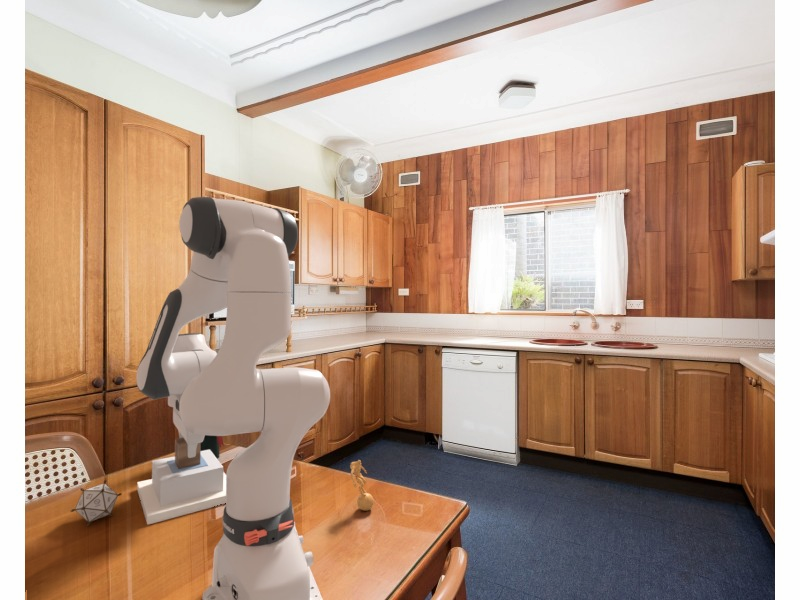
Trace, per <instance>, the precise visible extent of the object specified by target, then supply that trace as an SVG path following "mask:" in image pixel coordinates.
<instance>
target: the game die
mask: <svg viewBox="0 0 800 600" xmlns="http://www.w3.org/2000/svg"><path fill="white" fill-rule="evenodd" d="M106 483H107V479H104V480H103V483H99V484H98V485H94V486H92V487H89V488H86V489H84V488H83V487H80V491H81V494H80V496H79V498H78V501H77V503H76V506H75V508H73V509H71V510H70V512H71V513H73V512H76V513H78V515H80V516H81V517H82V518H83V519H84V521H86V522H87V523H86V527H87V526H88V527H89V526H90V524H91V523H92V522H94V521H96V520H99V519H101V518H104V517H107V516H110V517H114V514H113V513H112V511H113V508H114V506H115V503H116V501H117V499H118V498H119V496H122V495H123V493H122V492H120V493H117V492H116V491H115V490H114V489H112V488H111V487H110V486H109V484H106Z"/></svg>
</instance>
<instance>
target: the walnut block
mask: <svg viewBox="0 0 800 600" xmlns="http://www.w3.org/2000/svg"><path fill="white" fill-rule="evenodd" d="M187 448H188V444H187V442H186V441H185V439H184V438H175V439H174V456H175V463H176V465H177V467H178V469H181V468H185V467H190V466H195V465H199V464H200V451H201V443H198V444H197V448H196V456H195V457H192V458H188V456H187Z"/></svg>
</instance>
